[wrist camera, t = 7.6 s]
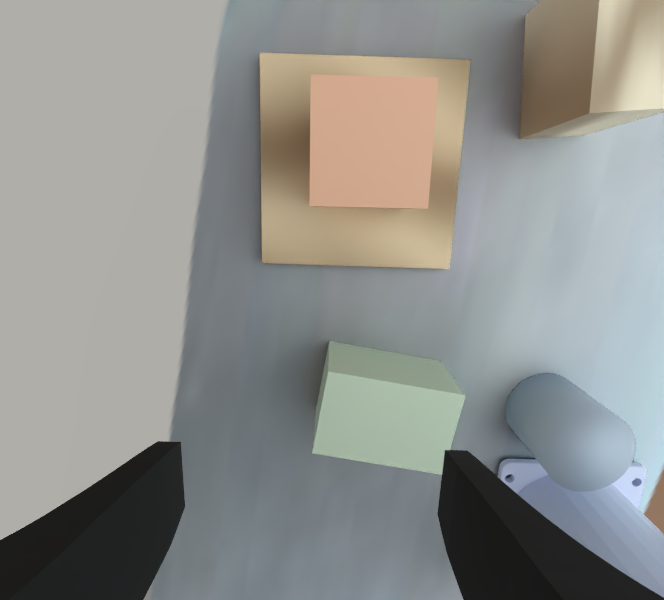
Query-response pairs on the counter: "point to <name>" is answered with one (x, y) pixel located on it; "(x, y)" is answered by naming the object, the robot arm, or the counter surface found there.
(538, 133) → the beech block
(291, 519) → the counter surface
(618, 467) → the slate cylinder
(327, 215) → the cork coaster
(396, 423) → the sage block
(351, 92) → the terracotta cube
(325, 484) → the counter surface
